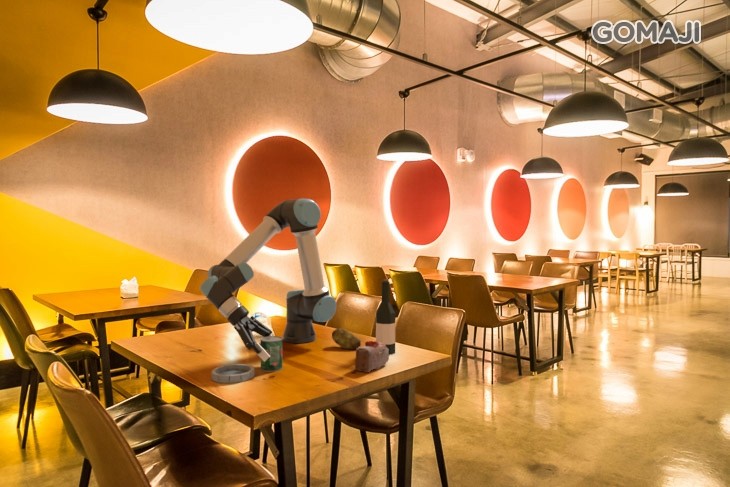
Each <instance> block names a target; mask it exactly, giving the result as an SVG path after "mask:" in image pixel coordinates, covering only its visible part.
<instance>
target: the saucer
mask: <svg viewBox="0 0 730 487" xmlns="http://www.w3.org/2000/svg"><path fill="white" fill-rule="evenodd" d="M255 371H256V370H255V367H254V366H253V365H250V364H247V363H246V364H245V363H232V364H231V363H230V364H224V365H222V366H217V367H215V368H213V369H211V381H213V382H215V383H218V384H237V383H242V382H244V383H245V382H247V381H249V380H252V379H253V378H254V377H255Z"/></svg>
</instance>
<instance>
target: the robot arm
mask: <svg viewBox="0 0 730 487" xmlns="http://www.w3.org/2000/svg"><path fill="white" fill-rule="evenodd" d="M321 212H322V211H321V209H320V206H319V205H318V204H317V202H316V201H314V200H313V199H310V198H296V199H287V200H283V201H280V202H279V203H278V204H277V205H276V206H274V207H273V208H272V209H270V211H268V213H266V215H265V216H264V217H263V220H262V222H260V224H259V225H258V226H257V227H255V229H253V231H252V232H251V233H249V235H247V237H246V238H244V239H243V240H242V241H241V243H239V244H238V245H237V246H236V247H235V248H233V250H232V251H231V252H230V253H229V254H228V255H227V256H226V257H225V258H224V259H223V260H221V261H220V263H219V264H215V265H212V266H211V267H210V268H209V269H208V271H207V277H208V278H206V279H204V281H203V282H202V283H201V284H200V287H199V289H200V292H201V294H203V295H204V297H205V298H206V299H207V300H208V301H209V302H210V303H211V304H212V305H213V306H214V307H215V308H216V310H218V311H219V313H220V315H221V316H223V317H224V318H227V321H228V322H229V323H230V324H231V325H232V327H233V328H234V329H235V331H236V332H237V333H238V335H239V337H240V339H241V341H242V343H243V344H244V347H245V348H247V349H248V350H249V351H250V350H251V349H252V350H253V351H254V352H255V354H256V355H257V356H259V358H260V360H261V359H262V360H263V361H264V362H265V361H266V360H267V359H268V358H269V357H270V355H269V354H268V353H267V352H266V351H265V350H264V349H263V348H262V347H261V343H259V342H256V339H255V337H254V334H253V332H254V333H256V334H258V335H259V336H261V337H262V338H263V337H268V336H273V335H272V334H273V331H272V329H270V328H268V327H267V326H266V325H265V324H263V323H262V322H261V321H259V320H257V319H256V317H254V316H253V315H252V316H250V317H249V316H248V315H249V313H250V311H249V310H248V309H247V308H246V307H245V306H244V305H242V302H241V301H240V300H239V299H238V298H237V297H236V296H235V295H234V293H235V292H236V291H237V290H239V289H240V288H241V287H243V286H244V285H246V284H247V283H249V282H250V281H251V280H252V279H253V278H254V274H255V272H254V271H253V268H252V267H251V265H250V264H248V263H249V261H250V260H251V259H252V258H253V257H254V256H255V255H256V254H257V253H258V252H259V251H260V250H261V249H262V248H264V246H265V245H266V244H267V243H268V242H269V241H270V240H271V239H272V238H273V237H274V236H275V235H276V234H281V232H282V231H283V230H284V229H287V228H289V229H290V234H292V235H294V237H295V241H296V242H295V243H296V249H297V253H298V258H299V265H300V269H301V270H300V271H301V274H302V275H301V276H302V280H303V285H304V289H295V290H288V291H287V293H286V298H285V301H286V324H285V328H284V329H283V330H284V331H283V335H282V342H285V343H291V344H305V343H310V342H311V343H312V342H313V341H316V339H317V333H316V330H315V327H314V325H313V321H315V322H318V323H319V322H320V323H326V322H329V321H330V320H331V319H333V317H334V315H335V314H336V311H337V301H336V299H335V298H334V297H333V296H331V295H330V290H329V288H328V287H327V286H326V285H325V281H324V276H323V270H322V269H323V268H322V266H321V260H320V259H321V258H320V253H319V247H318V242H317V237H316V233H317V230H318V228H319V226H318V224H319V223H320V219H321V218H322V214H321Z"/></svg>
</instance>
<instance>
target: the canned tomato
mask: <svg viewBox="0 0 730 487" xmlns="http://www.w3.org/2000/svg"><path fill="white" fill-rule="evenodd" d="M260 345H261V347H262V348H263V349H264V350H265V351H266V352H267V353H268V354H269V355H270V357H269V358H268V359H267V360H266V361H265V362H264V361H263V360H262V359H261V358H260V370H261V371H263V372H267V373H273V372H278V371H279V372H280V371H281V370H282V369H283V336H282V337H281V336H278V335H277V336H276V335H272V336H268V337H263V336H262V337H261V338H260Z"/></svg>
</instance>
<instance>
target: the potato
mask: <svg viewBox="0 0 730 487" xmlns="http://www.w3.org/2000/svg"><path fill="white" fill-rule="evenodd" d="M331 338H332V340H333V341H334V343H335V344H336V345H338V346H339V347H340V348H343V349H347V350H356V349H358V348H360V347H361V346H362V343H361V339H360V338H359V337H358V336H356V335H354V333H352V332H350V331H349V330H348V329H345V328H342V327H339V328H336V329H334V330H332V332H331Z"/></svg>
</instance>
